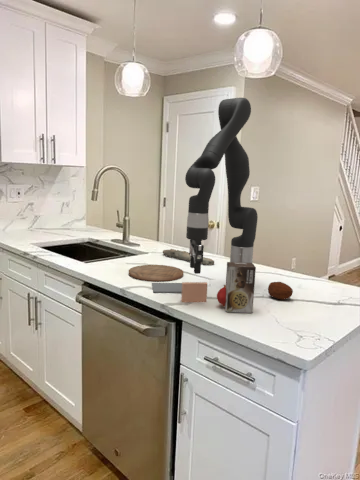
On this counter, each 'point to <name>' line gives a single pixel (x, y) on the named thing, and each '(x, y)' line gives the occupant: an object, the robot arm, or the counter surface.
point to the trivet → (156, 273)
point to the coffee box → (240, 287)
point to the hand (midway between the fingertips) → (194, 270)
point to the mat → (167, 287)
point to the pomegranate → (222, 296)
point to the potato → (280, 290)
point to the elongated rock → (185, 256)
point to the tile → (194, 292)
